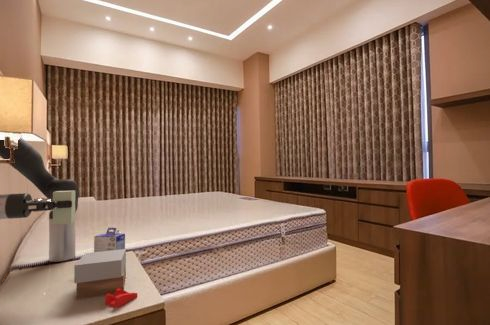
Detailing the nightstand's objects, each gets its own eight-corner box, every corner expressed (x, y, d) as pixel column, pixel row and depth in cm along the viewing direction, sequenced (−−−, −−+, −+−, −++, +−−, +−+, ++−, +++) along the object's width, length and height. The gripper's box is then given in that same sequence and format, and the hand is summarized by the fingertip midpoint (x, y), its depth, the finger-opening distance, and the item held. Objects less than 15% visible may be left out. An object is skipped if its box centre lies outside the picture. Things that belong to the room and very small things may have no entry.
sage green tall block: (57, 221, 87) (57, 191, 87) (75, 220, 89) (75, 190, 89) (52, 224, 82) (52, 192, 83) (71, 222, 84) (71, 191, 84)
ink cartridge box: (126, 265, 101) (125, 227, 101) (116, 270, 96) (116, 230, 96) (103, 264, 103) (103, 226, 103) (92, 269, 98) (92, 229, 98)
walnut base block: (85, 284, 85) (85, 268, 85) (125, 278, 89) (125, 263, 90) (76, 301, 74) (76, 283, 74) (123, 293, 78) (123, 276, 78)
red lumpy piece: (118, 309, 69) (118, 298, 69) (105, 306, 71) (105, 294, 71) (137, 298, 75) (137, 287, 75) (124, 295, 77) (124, 284, 77)
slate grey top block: (85, 268, 85) (85, 253, 85) (125, 263, 89) (125, 248, 89) (74, 283, 74) (74, 265, 74) (121, 277, 78) (121, 259, 78)
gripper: (-3, 195, 74) (68, 193, 80) (20, 192, 87) (79, 190, 93) (-3, 222, 74) (68, 217, 80) (19, 215, 87) (79, 211, 93)
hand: (73, 203), depth 87 cm, fingers closed on sage green tall block, 5 cm apart
